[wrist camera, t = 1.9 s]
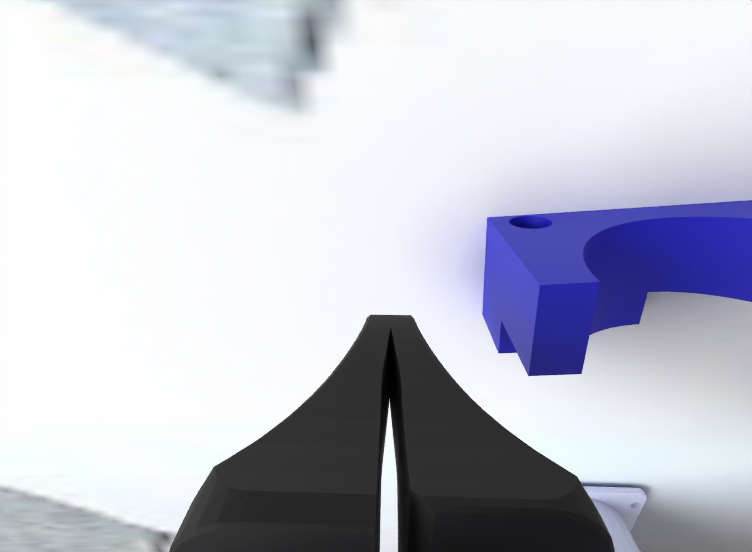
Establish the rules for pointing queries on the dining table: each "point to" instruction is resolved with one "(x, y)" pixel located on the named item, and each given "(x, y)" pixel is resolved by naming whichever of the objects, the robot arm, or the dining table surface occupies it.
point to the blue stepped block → (604, 272)
